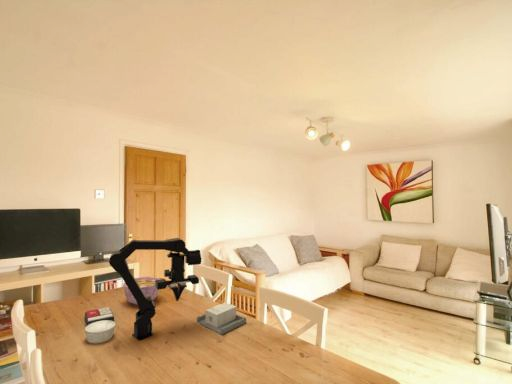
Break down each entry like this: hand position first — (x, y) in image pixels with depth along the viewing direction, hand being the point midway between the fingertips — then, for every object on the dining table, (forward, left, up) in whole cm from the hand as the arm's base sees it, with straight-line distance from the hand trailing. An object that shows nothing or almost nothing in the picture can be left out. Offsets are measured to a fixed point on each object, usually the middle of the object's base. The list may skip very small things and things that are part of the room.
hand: (177, 300), depth 126 cm
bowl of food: (+5, +42, -13) cm, 44 cm away
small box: (+12, -10, -9) cm, 18 cm away
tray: (+18, -10, -13) cm, 25 cm away
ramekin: (-26, +17, -13) cm, 34 cm away
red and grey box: (-20, +35, -14) cm, 43 cm away
